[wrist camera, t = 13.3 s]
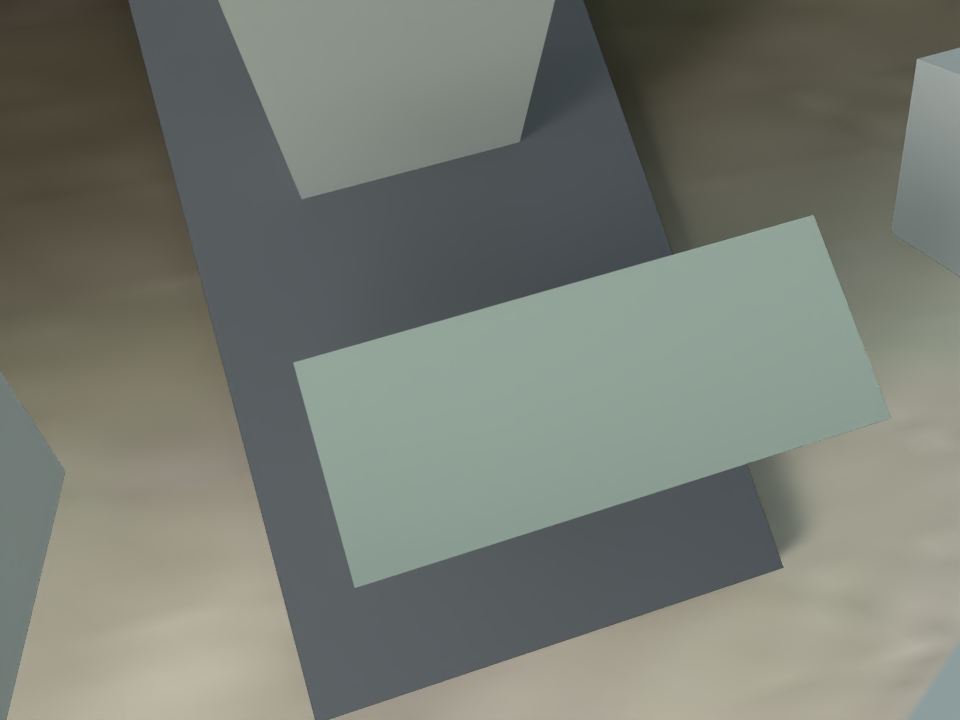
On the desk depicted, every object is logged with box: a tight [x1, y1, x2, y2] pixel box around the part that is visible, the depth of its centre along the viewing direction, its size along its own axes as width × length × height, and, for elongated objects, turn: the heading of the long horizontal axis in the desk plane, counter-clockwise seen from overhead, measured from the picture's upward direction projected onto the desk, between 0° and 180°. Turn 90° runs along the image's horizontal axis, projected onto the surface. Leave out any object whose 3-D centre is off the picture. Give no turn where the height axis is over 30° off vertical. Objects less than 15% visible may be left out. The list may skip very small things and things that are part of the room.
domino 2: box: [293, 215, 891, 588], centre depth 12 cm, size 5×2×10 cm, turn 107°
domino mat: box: [128, 0, 783, 720], centre depth 19 cm, size 10×25×1 cm, turn 17°
